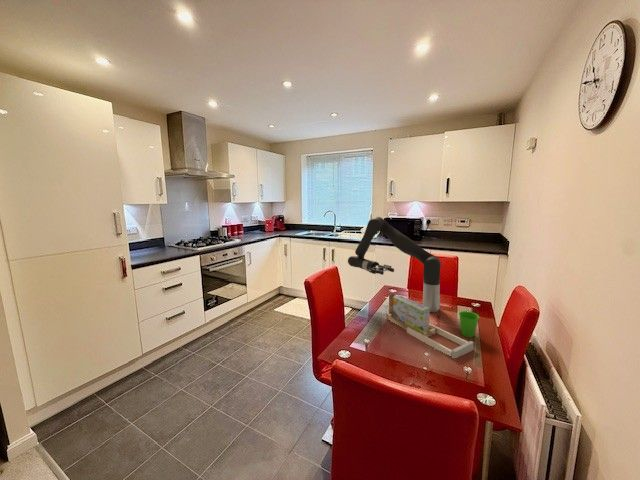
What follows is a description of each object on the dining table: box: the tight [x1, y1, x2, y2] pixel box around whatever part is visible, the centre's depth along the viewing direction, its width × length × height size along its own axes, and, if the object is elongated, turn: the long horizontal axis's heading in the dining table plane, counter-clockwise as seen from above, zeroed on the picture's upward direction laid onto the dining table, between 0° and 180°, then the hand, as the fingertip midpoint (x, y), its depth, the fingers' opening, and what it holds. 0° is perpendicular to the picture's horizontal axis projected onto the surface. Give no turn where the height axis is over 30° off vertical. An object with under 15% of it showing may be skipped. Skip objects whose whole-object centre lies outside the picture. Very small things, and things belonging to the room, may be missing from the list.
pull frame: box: [386, 292, 437, 338], centre depth 145 cm, size 10×28×14 cm, turn 29°
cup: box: [458, 310, 480, 338], centre depth 134 cm, size 9×9×11 cm
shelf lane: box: [406, 322, 474, 359], centre depth 130 cm, size 14×27×4 cm, turn 29°
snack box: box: [393, 295, 431, 333], centre depth 143 cm, size 21×6×15 cm, turn 29°
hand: (388, 271), depth 160 cm, fingers open, 8 cm apart
